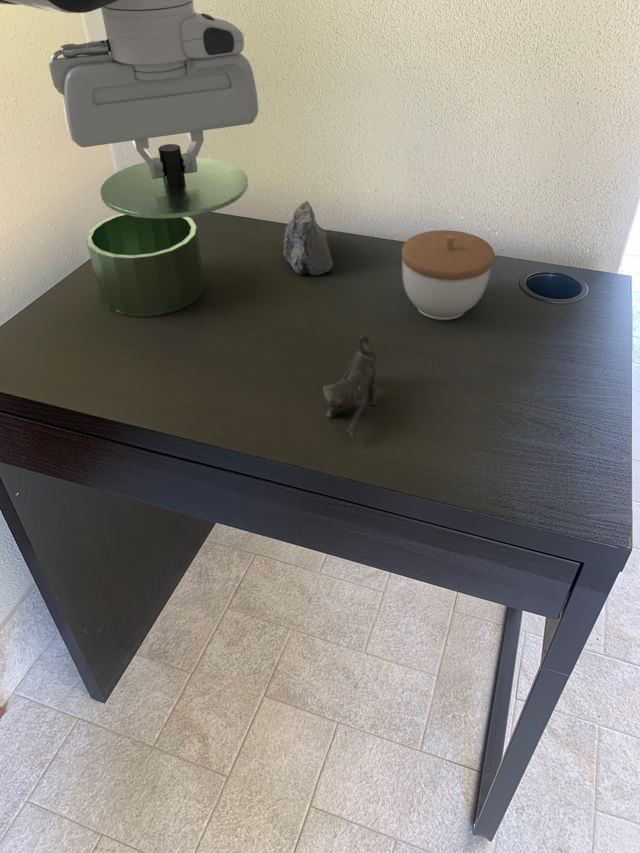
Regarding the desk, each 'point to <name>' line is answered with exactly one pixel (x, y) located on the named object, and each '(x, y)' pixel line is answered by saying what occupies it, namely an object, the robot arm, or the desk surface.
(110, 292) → the waste tin
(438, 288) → the lidded bowl
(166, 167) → the tin lid
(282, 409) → the desk surface
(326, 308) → the desk surface
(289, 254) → the mineral rock
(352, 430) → the dog figurine
